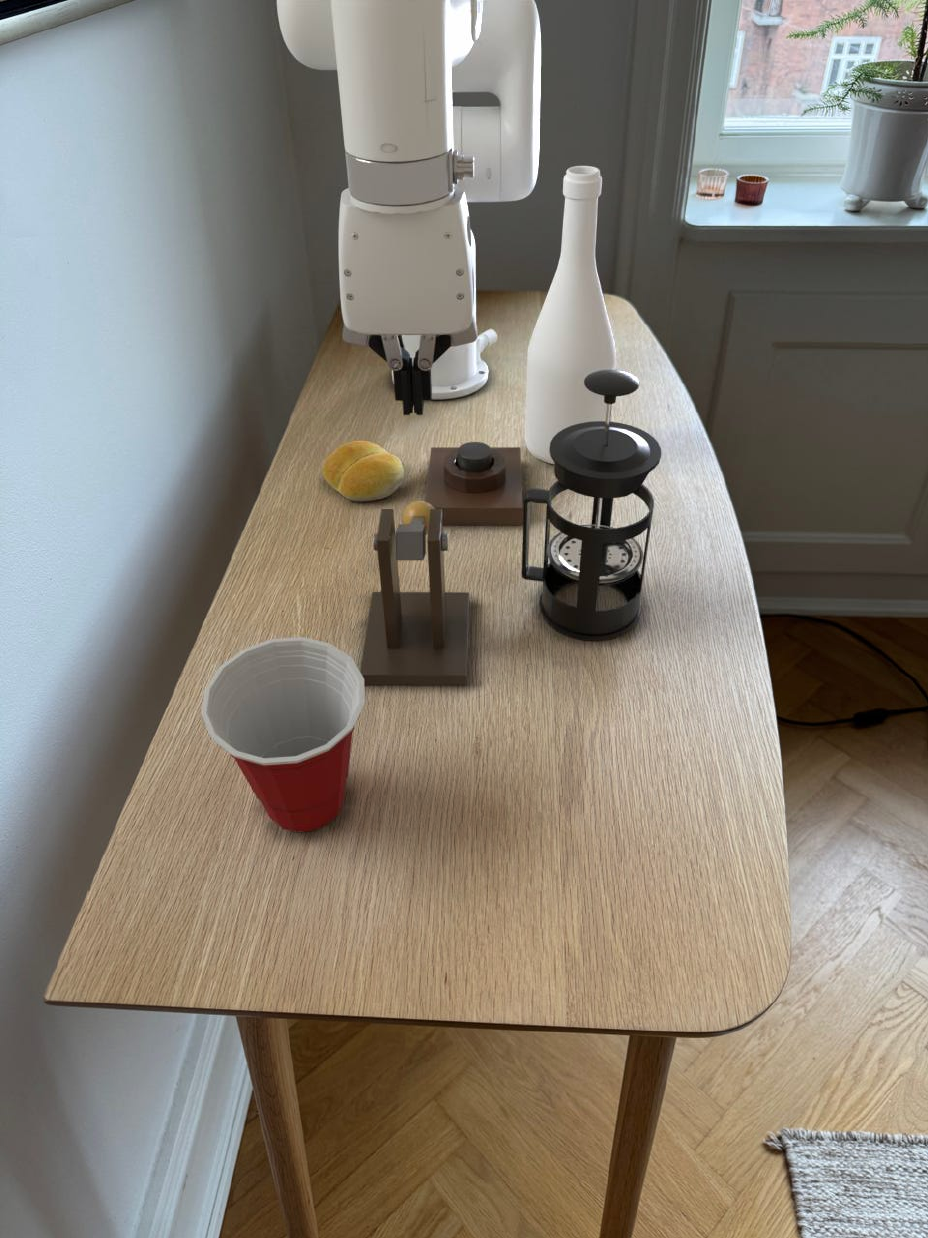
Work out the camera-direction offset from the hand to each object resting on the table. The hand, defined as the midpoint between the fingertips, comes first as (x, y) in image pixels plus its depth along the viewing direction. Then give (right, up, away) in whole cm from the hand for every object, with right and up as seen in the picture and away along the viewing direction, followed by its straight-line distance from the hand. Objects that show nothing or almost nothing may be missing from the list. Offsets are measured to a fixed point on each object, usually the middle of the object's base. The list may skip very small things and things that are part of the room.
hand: (414, 406), depth 77 cm
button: (+5, -2, +20) cm, 21 cm away
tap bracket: (0, -20, +5) cm, 20 cm away
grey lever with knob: (0, -12, +3) cm, 12 cm away
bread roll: (-7, -3, +25) cm, 26 cm away
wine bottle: (+16, +2, +29) cm, 34 cm away
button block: (+5, -4, +22) cm, 23 cm away
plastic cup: (-8, -32, -8) cm, 34 cm away
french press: (+15, -17, +8) cm, 24 cm away
